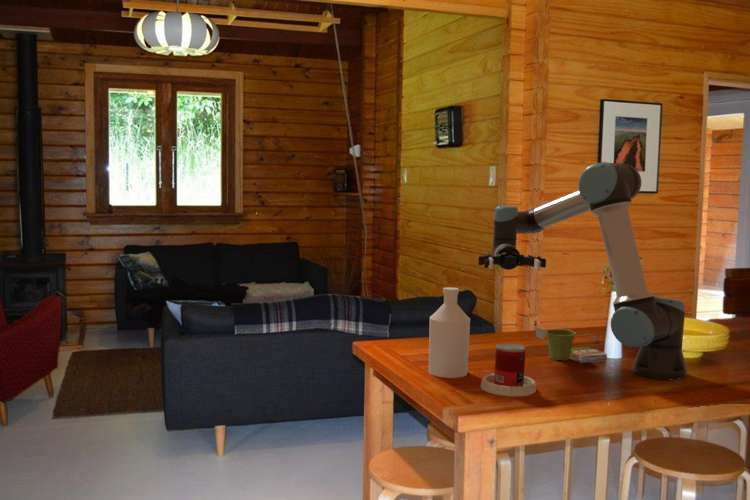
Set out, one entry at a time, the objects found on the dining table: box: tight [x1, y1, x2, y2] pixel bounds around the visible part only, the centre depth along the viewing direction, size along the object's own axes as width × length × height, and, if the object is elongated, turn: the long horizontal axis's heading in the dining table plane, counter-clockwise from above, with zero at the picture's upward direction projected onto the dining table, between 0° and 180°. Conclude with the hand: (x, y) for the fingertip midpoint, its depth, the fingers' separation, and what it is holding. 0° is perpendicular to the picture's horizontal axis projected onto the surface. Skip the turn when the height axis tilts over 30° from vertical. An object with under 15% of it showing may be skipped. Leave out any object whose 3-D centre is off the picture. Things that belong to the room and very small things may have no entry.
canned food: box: [494, 343, 526, 387], centre depth 212 cm, size 8×8×11 cm
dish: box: [480, 373, 537, 398], centre depth 213 cm, size 15×15×2 cm
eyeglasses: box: [533, 325, 599, 342], centre depth 278 cm, size 15×18×4 cm
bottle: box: [428, 286, 471, 379], centre depth 227 cm, size 12×12×25 cm
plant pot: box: [545, 328, 577, 362], centre depth 248 cm, size 9×9×9 cm
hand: (515, 265), depth 227 cm, fingers open, 13 cm apart
